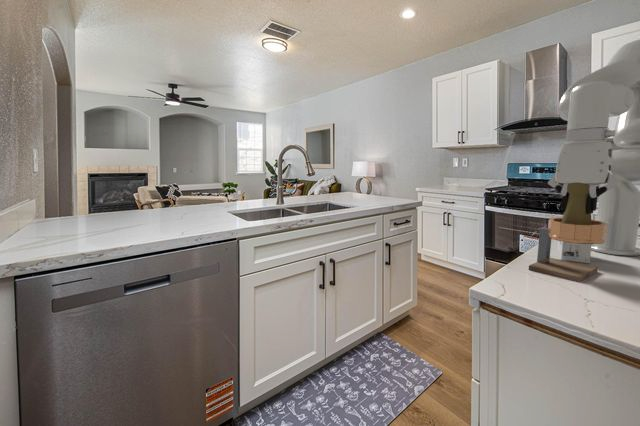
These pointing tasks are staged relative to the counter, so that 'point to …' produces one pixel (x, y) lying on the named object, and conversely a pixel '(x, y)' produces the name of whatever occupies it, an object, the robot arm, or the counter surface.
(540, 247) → the cup bracket
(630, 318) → the counter surface
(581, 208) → the cork
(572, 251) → the light bulb box
